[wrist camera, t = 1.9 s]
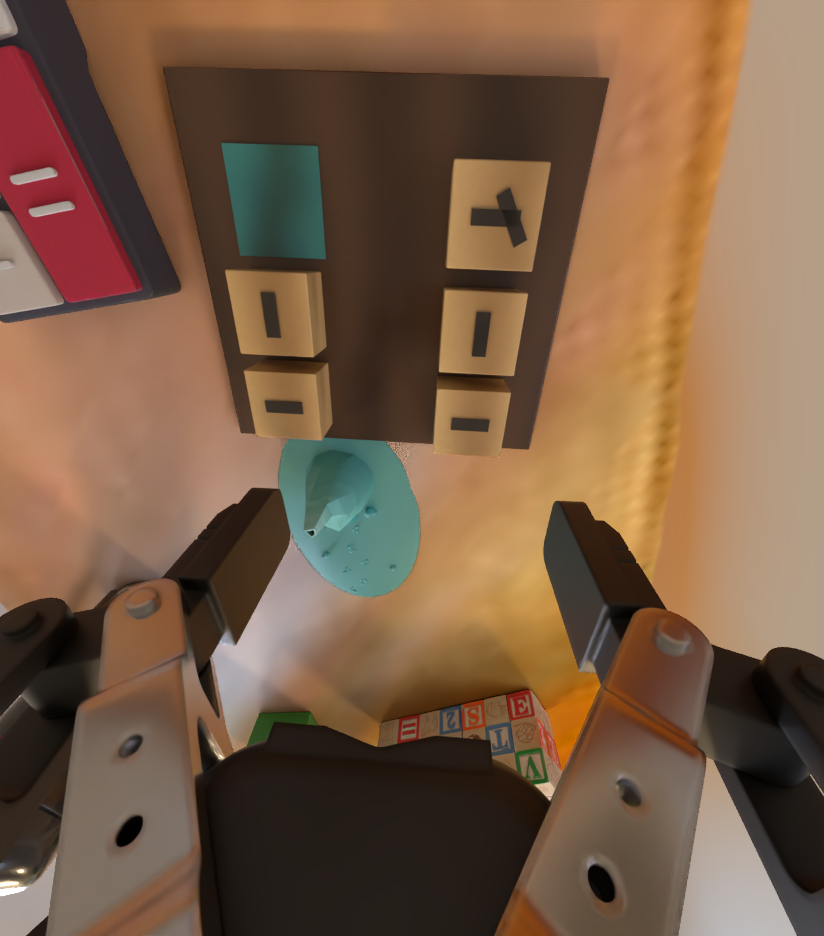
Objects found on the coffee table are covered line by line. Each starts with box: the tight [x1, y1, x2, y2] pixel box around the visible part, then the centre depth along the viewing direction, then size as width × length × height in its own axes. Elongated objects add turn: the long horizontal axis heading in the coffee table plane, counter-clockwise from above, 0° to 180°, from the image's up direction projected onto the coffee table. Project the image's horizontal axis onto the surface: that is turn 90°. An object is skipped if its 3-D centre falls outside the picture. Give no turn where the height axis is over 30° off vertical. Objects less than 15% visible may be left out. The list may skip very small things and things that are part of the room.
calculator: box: [0, 0, 181, 323], centre depth 20 cm, size 11×4×15 cm
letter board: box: [163, 67, 609, 457], centre depth 22 cm, size 22×20×4 cm
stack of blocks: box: [378, 690, 562, 800], centre depth 43 cm, size 21×6×12 cm, turn 120°
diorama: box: [278, 438, 420, 597], centre depth 29 cm, size 12×20×9 cm, turn 8°
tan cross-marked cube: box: [445, 158, 551, 272], centre depth 19 cm, size 4×4×3 cm
